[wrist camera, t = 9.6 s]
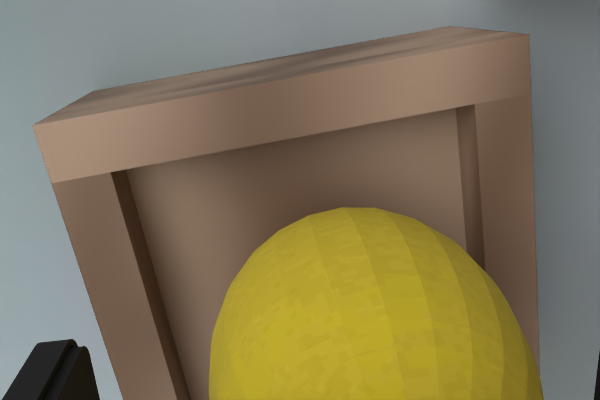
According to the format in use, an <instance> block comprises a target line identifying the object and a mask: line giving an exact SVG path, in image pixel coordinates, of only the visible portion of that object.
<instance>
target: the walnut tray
mask: <svg viewBox="0 0 600 400" xmlns="http://www.w3.org/2000/svg"><path fill="white" fill-rule="evenodd" d="M32 127H33V130H34V133H35V136H36V139H37V142H38V145H39V148H40V151H41V154H42V157H43V160H44V163H45V166H46V169H47V172H48V175H49V178H50V181H51V184H52V187H53V190H54V193H55V196H56V199H57V202H58V205H59V208H60V211H61V214H62V217H63V220H64V223H65V226H66V229H67V232H68V235H69V238H70V241H71V244H72V247H73V250H74V253H75V256H76V259H77V262H78V265H79V268H80V271H81V274H82V277H83V280H84V283H85V286H86V289H87V292H88V295H89V298H90V301H91V304H92V307H93V310H94V313H95V316H96V319H97V322H98V325H99V328H100V331H101V334H102V337H103V340H104V343H105V346H106V349H107V352H108V355H109V358H110V361H111V364H112V367H113V370H114V373H115V376H116V379H117V382H118V385H119V388H120V391H121V394H122V397H123V400H209V369H210V354H211V342H212V335H213V331H214V328H215V324H216V321H217V318H218V316H219V313H220V310H221V307H222V305H223V302H224V299H225V296H226V293H227V291H228V289H229V287H230V284H231V283H232V281H233V280H234V279H235V277H236V276H237V274H238V273H239V271H240V270H241V269H242V267H243V266H244V264H245V263H246V262H247V260H248V259H249V257H250V256H251V255H252V253H253V252H254V251H255V250H256V249H257V248H259V247H260V246H261V245H262V244H263V243H264V242H266V241H267V240H268V239H269V238H270V237H272V236H273V235H274V234H275V233H276V232H277V231H279V230H281V229H283V228H285V227H286V226H288V225H290V224H292V223H294V222H296V221H298V220H300V219H302V218H304V217H306V216H308V215H312V214H316V213H320V212H324V211H329V210H333V209H337V208H341V207H349V208H378V209H382V210H386V211H389V212H393V213H397V214H401V215H405V216H408V217H412V218H414V219H416V220H418V221H420V222H422V223H423V224H425V225H427V226H429V227H431V228H432V229H434V230H436V231H438V232H440V233H441V234H443V235H445V236H447V237H448V238H450V239H452V240H453V241H454V242H456V243H457V244H458V245H460V246H461V247H462V249H463V250H464V251H465V252H466V253H467V254H468V255H469V256H470V257H471V258H472V259H473V260H474V261H475V262H476V263H477V264H478V265H479V266H480V267H481V268H482V269H483V270H484V271H485V272H486V273H487V274H488V275H489V276H490V277H491V278H492V280H493V281H494V282H495V283H496V285H497V286H498V287H499V289H500V290H501V292H502V294H503V295H504V297H505V299H506V300H507V302H508V304H509V306H510V308H511V310H512V312H513V314H514V316H515V318H516V320H517V321H518V323H519V325H520V327H521V329H522V331H523V333H524V335H525V337H526V340H527V342H528V344H529V346H530V348H531V351H532V354H533V356H534V359H535V362H536V365H537V369H538V373H539V376H540V366H539V334H538V302H537V270H536V238H535V206H534V174H533V142H532V110H531V78H530V46H529V34H521V33H511V32H501V31H491V30H482V29H472V28H462V27H452V26H448V27H443V28H437V29H432V30H426V31H421V32H415V33H410V34H404V35H399V36H393V37H388V38H382V39H377V40H371V41H366V42H360V43H355V44H349V45H344V46H338V47H333V48H327V49H322V50H317V51H311V52H306V53H300V54H295V55H289V56H284V57H278V58H273V59H267V60H262V61H256V62H251V63H245V64H240V65H234V66H229V67H223V68H218V69H212V70H207V71H201V72H196V73H190V74H185V75H179V76H174V77H168V78H163V79H157V80H152V81H146V82H141V83H135V84H130V85H124V86H119V87H113V88H108V89H102V90H97V91H92V92H91V93H89V94H87V95H85V96H84V97H82V98H80V99H78V100H77V101H75V102H73V103H71V104H69V105H68V106H66V107H64V108H62V109H61V110H59V111H57V112H55V113H54V114H52V115H50V116H48V117H47V118H45V119H43V120H41V121H39V122H38V123H36V124H34V125H32Z"/></svg>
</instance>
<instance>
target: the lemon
mask: <svg viewBox="0 0 600 400" xmlns="http://www.w3.org/2000/svg"><path fill="white" fill-rule="evenodd" d="M209 400H544V399H543V393H542V387H541V381H540V376H539V373H538V369H537V365H536V362H535V359H534V356H533V354H532V351H531V348H530V346H529V344H528V342H527V340H526V337H525V335H524V333H523V331H522V329H521V327H520V325H519V323H518V321H517V320H516V318H515V316H514V314H513V312H512V310H511V308H510V306H509V304H508V302H507V300H506V299H505V297H504V295H503V294H502V292H501V290H500V289H499V287H498V286H497V285H496V283H495V282H494V281H493V280H492V278H491V277H490V276H489V275H488V274H487V273H486V272H485V271H484V270H483V269H482V268H481V267H480V266H479V265H478V264H477V263H476V262H475V261H474V260H473V259H472V258H471V257H470V256H469V255H468V254H467V253H466V252H465V251H464V250H463V249H462V247H461V246H460V245H458V244H457V243H456V242H454V241H453V240H452V239H450V238H448V237H447V236H445V235H443V234H441V233H440V232H438V231H436V230H434V229H432V228H431V227H429V226H427V225H425V224H423V223H422V222H420V221H418V220H416V219H414V218H412V217H408V216H405V215H401V214H397V213H393V212H389V211H386V210H382V209H378V208H349V207H341V208H337V209H333V210H329V211H324V212H320V213H316V214H312V215H308V216H306V217H304V218H302V219H300V220H298V221H296V222H294V223H292V224H290V225H288V226H286V227H285V228H283V229H281V230H279V231H277V232H276V233H275V234H274V235H273V236H272V237H270V238H269V239H268V240H267V241H266V242H264V243H263V244H262V245H261V246H260V247H259V248H257V249H256V250H255V251H254V252H253V253H252V255H251V256H250V257H249V259H248V260H247V262H246V263H245V264H244V266H243V267H242V269H241V270H240V271H239V273H238V274H237V276H236V277H235V279H234V280H233V281H232V283H231V284H230V287H229V289H228V291H227V293H226V296H225V299H224V302H223V305H222V307H221V310H220V313H219V316H218V318H217V321H216V324H215V328H214V331H213V335H212V342H211V354H210V369H209Z"/></svg>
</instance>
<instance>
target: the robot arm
mask: <svg viewBox="0 0 600 400" xmlns="http://www.w3.org/2000/svg"><path fill="white" fill-rule="evenodd" d="M2 400H100V398H99V394H98V389H97V385H96V380H95V376H94V372H93V367H92V363H91V358H90V354H89V351H88V349H87V347H85V346H82V347H78V345H77V343H76V342H75V340H73V339H69V340H60V341H51V342H41V343H38V344H37V345H36V346H35V347H34V349H33V350H32V352H31V354H30V355H29V357H28V359H27V360H26V362H25V363H24V365H23V367H22V368H21V370H20V371H19V373H18V375H17V376H16V378H15V380H14V381H13V383H12V384H11V386H10V388H9V389H8V391H7V392H6V394H5V396H4V397H3V399H2ZM594 400H600V353H599V361H598V369H597V378H596V386H595V394H594Z"/></svg>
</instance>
